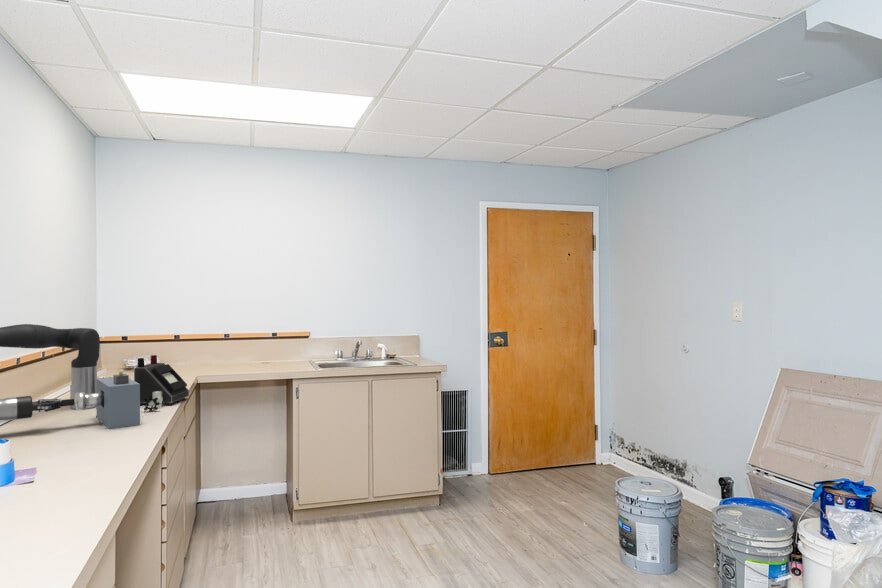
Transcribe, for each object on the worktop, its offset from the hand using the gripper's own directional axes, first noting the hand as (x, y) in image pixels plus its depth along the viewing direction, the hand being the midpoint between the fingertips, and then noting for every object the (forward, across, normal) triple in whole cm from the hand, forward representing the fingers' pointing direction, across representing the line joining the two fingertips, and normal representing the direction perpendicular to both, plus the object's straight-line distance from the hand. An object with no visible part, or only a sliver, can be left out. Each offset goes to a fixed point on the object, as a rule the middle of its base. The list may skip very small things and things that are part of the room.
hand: (74, 401), depth 211 cm
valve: (+30, +14, +9) cm, 35 cm away
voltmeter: (+37, +28, +9) cm, 47 cm away
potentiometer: (+14, -6, -6) cm, 16 cm away
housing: (+14, 0, +9) cm, 17 cm away
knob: (+5, 0, +3) cm, 6 cm away
